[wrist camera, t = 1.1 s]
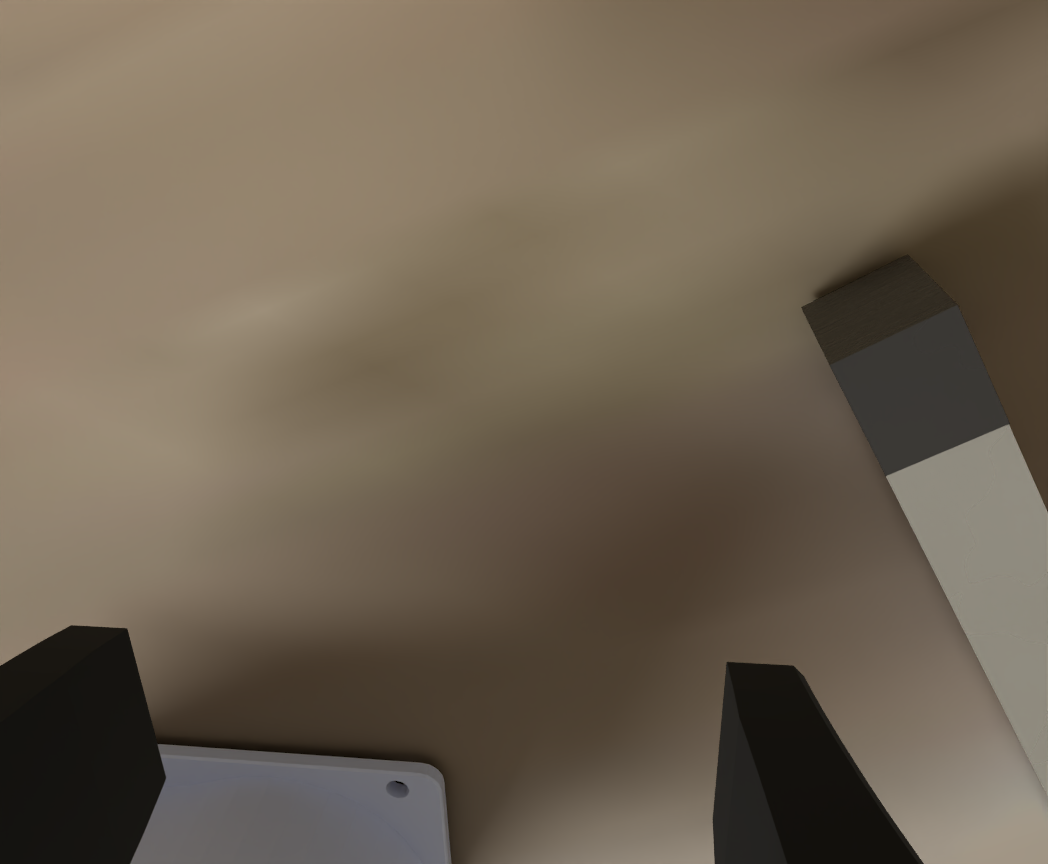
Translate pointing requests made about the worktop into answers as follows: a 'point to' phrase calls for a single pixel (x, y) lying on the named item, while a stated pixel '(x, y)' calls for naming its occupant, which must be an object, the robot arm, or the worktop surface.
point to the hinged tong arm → (951, 472)
